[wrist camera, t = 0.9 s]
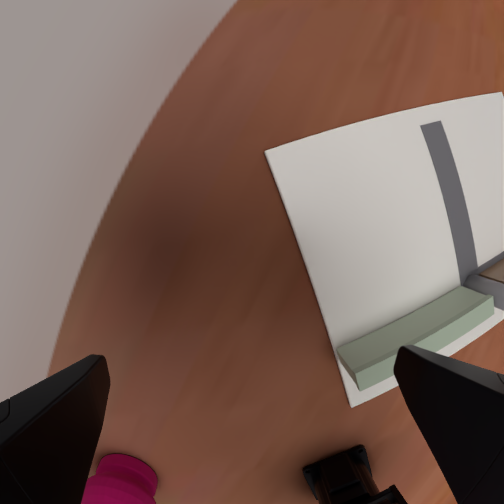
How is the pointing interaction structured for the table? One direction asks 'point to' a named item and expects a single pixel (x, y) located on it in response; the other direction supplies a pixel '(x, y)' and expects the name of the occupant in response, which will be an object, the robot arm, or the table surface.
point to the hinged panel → (415, 334)
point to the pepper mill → (121, 482)
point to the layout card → (398, 217)
